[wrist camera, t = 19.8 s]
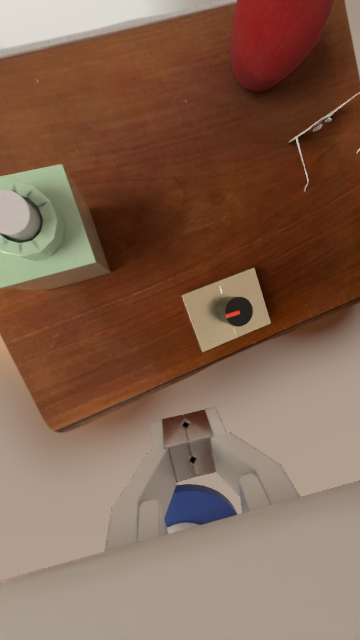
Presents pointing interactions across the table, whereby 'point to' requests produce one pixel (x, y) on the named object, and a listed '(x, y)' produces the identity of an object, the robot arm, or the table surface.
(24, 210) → the grey cylindrical peg
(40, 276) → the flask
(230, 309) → the knob
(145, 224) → the table surface
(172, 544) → the robot arm
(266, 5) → the apple
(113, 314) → the table surface
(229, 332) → the panel
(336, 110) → the sunglasses
